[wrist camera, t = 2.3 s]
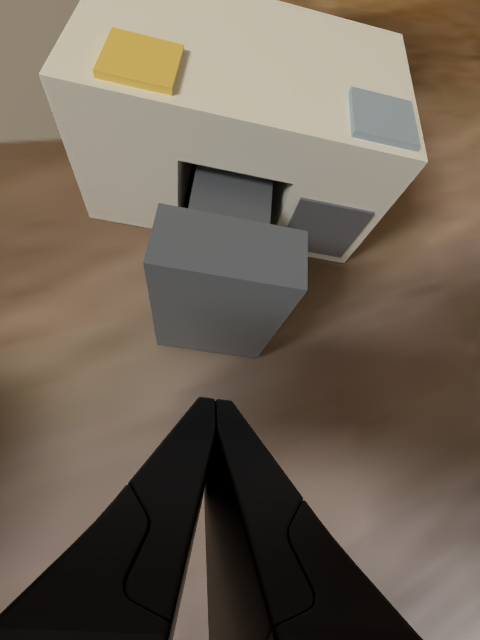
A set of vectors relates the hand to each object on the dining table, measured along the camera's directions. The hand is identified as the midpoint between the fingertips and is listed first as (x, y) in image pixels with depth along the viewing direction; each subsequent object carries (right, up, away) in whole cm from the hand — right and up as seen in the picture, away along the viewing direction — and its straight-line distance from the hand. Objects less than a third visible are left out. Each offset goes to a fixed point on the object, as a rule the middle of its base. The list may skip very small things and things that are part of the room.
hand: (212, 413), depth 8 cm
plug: (-1, +5, +11) cm, 12 cm away
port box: (0, +12, +14) cm, 19 cm away
